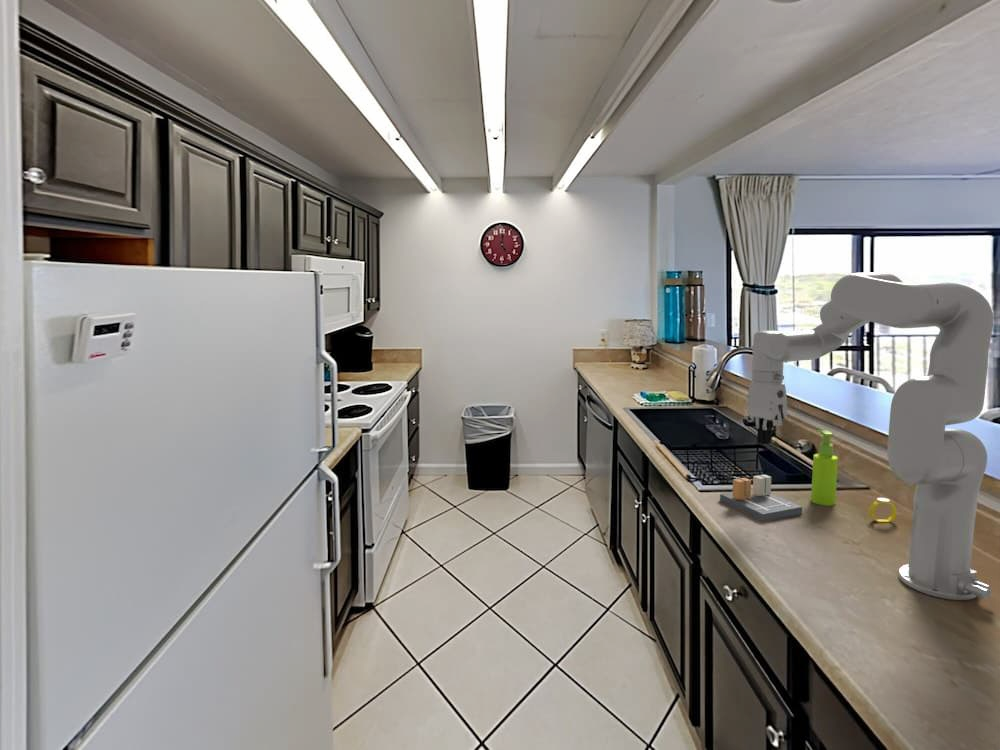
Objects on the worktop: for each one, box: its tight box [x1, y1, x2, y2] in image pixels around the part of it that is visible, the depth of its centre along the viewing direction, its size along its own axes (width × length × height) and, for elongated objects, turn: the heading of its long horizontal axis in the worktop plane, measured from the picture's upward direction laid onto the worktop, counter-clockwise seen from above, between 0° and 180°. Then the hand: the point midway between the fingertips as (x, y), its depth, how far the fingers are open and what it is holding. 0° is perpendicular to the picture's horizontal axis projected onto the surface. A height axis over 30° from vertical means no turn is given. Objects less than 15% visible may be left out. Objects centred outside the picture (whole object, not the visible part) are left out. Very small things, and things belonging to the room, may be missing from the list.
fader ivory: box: [752, 474, 772, 496], centre depth 156 cm, size 2×4×5 cm, turn 109°
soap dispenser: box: [810, 429, 839, 507], centre depth 154 cm, size 6×7×20 cm
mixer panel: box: [719, 488, 803, 522], centre depth 153 cm, size 16×13×2 cm
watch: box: [868, 497, 898, 524], centre depth 141 cm, size 6×3×6 cm, turn 85°
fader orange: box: [732, 477, 752, 500], centre depth 154 cm, size 2×4×5 cm, turn 108°
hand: (764, 442), depth 152 cm, fingers closed
